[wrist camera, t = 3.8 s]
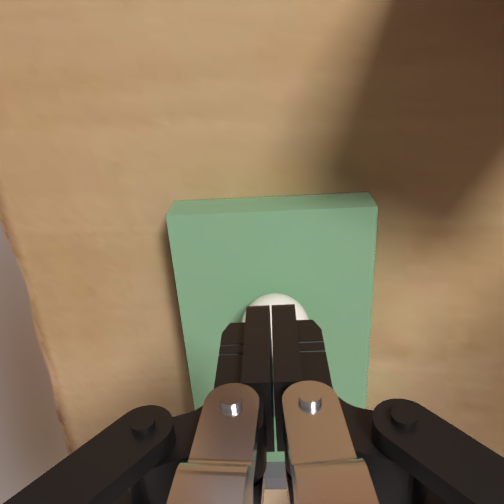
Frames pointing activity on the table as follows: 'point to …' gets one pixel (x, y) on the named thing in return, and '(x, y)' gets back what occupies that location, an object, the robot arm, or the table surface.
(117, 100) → the table surface
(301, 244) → the green
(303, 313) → the ball
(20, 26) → the table surface
